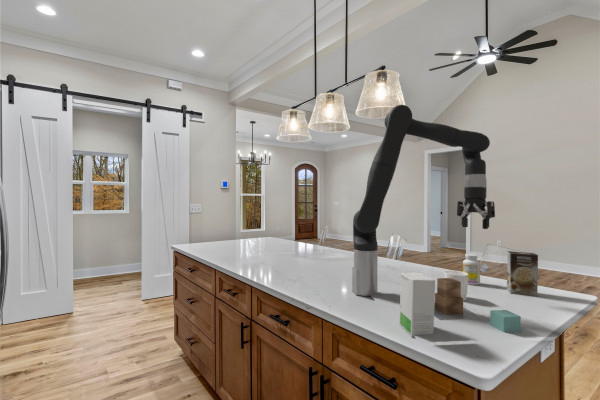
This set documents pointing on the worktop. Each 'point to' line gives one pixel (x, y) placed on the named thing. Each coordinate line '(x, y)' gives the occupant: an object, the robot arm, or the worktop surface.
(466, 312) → the pale flat pad
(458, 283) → the block
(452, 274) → the white cup
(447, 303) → the tower bottom
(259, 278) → the worktop surface
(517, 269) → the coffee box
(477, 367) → the worktop surface
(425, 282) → the skincare box
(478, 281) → the supplement bottle
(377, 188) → the robot arm
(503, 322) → the teal cube
